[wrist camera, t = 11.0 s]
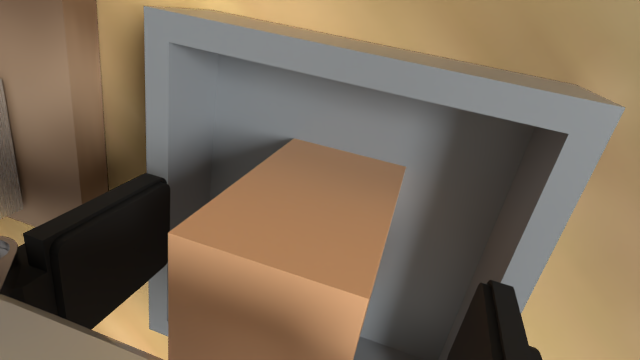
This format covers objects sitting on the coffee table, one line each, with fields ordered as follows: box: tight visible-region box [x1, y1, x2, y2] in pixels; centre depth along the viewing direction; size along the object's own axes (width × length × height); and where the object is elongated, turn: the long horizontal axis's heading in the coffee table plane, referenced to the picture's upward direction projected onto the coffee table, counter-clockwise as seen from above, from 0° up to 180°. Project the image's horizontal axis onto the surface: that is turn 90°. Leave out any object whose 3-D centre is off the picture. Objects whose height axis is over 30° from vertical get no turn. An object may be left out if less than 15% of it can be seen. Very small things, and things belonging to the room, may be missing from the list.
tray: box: [144, 6, 625, 360], centre depth 13 cm, size 12×12×4 cm
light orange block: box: [168, 138, 406, 360], centre depth 11 cm, size 5×4×7 cm
